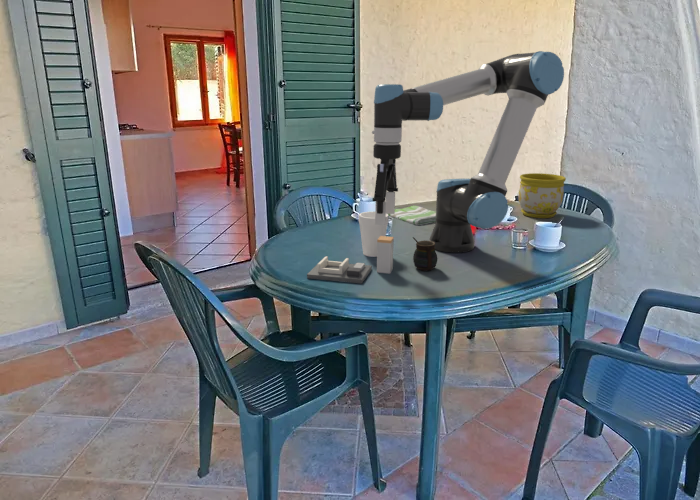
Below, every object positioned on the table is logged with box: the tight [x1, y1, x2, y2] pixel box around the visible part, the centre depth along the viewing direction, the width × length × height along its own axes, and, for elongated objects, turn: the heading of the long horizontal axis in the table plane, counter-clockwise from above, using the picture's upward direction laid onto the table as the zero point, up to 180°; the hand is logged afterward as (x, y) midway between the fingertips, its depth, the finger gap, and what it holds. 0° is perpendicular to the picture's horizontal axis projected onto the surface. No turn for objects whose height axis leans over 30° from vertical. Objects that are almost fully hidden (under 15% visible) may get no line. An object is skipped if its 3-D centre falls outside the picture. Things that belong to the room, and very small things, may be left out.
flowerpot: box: [517, 172, 567, 219], centre depth 215 cm, size 18×18×16 cm
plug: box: [376, 235, 395, 275], centre depth 149 cm, size 4×4×10 cm
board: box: [306, 256, 373, 284], centre depth 147 cm, size 16×12×4 cm
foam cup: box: [358, 211, 389, 258], centre depth 164 cm, size 10×9×13 cm
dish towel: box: [388, 205, 436, 226], centre depth 214 cm, size 17×23×4 cm
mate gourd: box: [412, 237, 439, 272], centre depth 151 cm, size 7×8×10 cm
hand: (385, 219), depth 146 cm, fingers open, 13 cm apart
